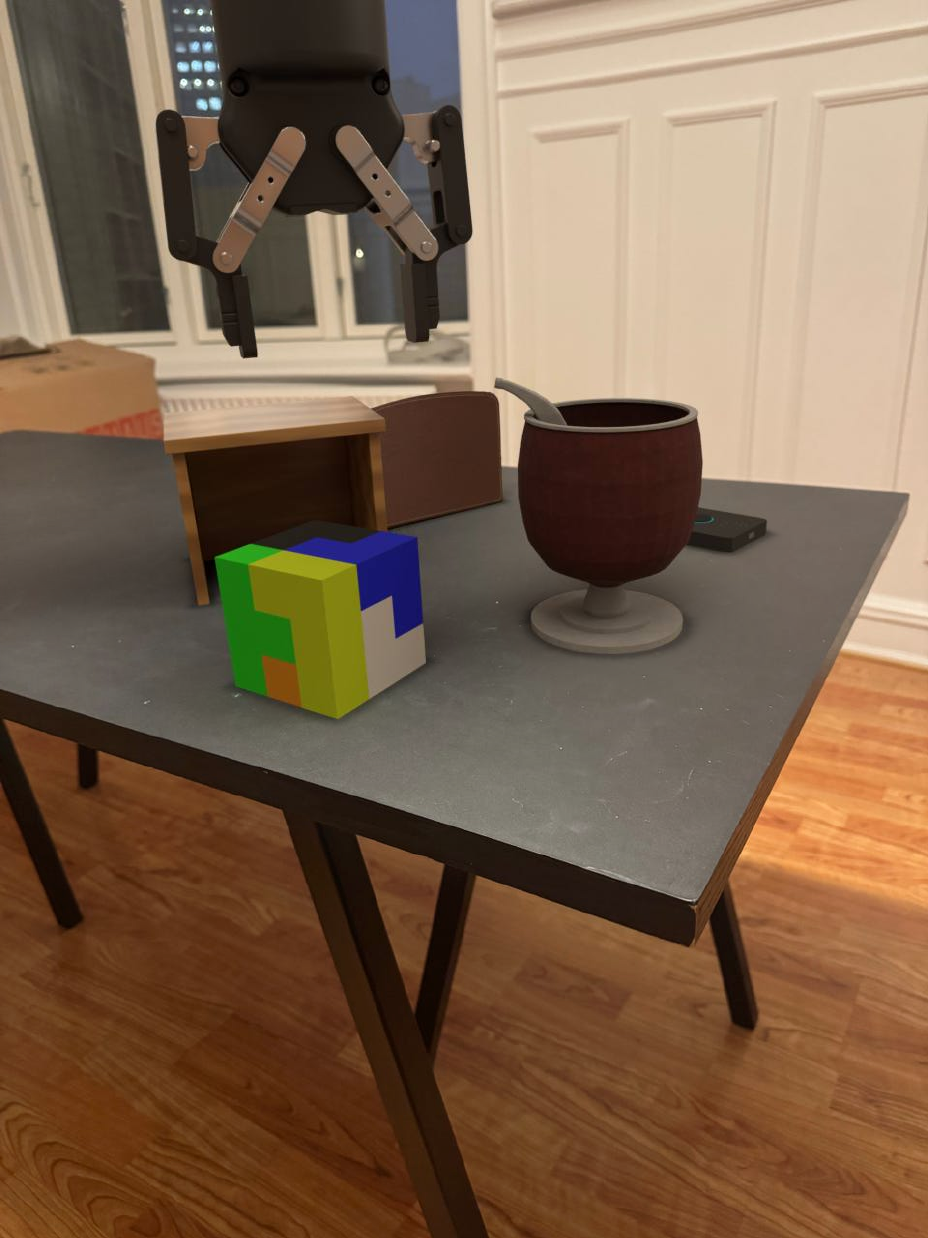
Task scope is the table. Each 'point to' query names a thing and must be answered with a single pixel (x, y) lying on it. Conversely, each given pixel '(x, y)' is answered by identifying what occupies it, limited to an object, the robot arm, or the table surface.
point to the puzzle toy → (323, 614)
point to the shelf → (273, 472)
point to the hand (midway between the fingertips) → (335, 348)
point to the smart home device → (725, 530)
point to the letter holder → (440, 455)
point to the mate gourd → (607, 512)
